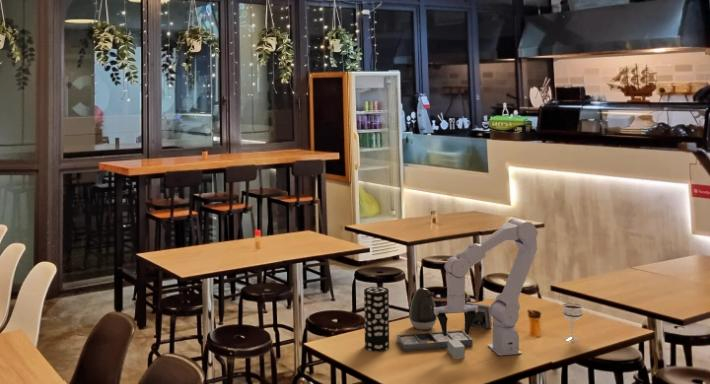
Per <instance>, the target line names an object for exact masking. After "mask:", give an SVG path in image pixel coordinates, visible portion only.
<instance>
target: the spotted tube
mask: <svg viewBox="0 0 710 384" xmlns="http://www.w3.org/2000/svg"><path fill="white" fill-rule="evenodd" d="M389 291H390V290H389V288H387V287H383V286H371V287H370V286H369V287H366V288H365V289H363V294H364V295H363V302H364V303H363V304H364V305H363V306H364V307H363V309H364V310H363V311H364V313H363V314H364V316H363V317H364V349H365V348H366V350H367V351H370V352H378V351H379V352H384V351H387V350H389V349H390V304H389V303H390V297H389V296H390V295H389V294H390V292H389Z"/></svg>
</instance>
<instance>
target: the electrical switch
mask: <svg viewBox="0 0 710 384" xmlns="http://www.w3.org/2000/svg"><path fill="white" fill-rule="evenodd" d="M465 305H477V306H478V312H475V314H476V318H475V319H474V321H473V323H472V325H471V328H475V329H479V330H485V331H487V330H488V329H489V328H490V329H491V328H492V327H493V320H492V316H491V314H490V311H489V310H490V306H491V305H488V304H483V303H475V302H471V301H467V302H465Z"/></svg>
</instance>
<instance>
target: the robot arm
mask: <svg viewBox="0 0 710 384" xmlns="http://www.w3.org/2000/svg"><path fill="white" fill-rule="evenodd" d="M538 234H539V231H538V229H537V227H536V225H534V223H532V222H531V221H526V220H522V219H519V218H517V217H513V218H510V219H509V220H508V221H506V222H504V223H502V225H501V226H500V228H498V229H497V230H495V231H494V232H493V233H492V234H490V235H489V236H488V237H487V238H485V239H484V240H482V241H481V242H480V243H477V242H476V243H473V244H472V243H469V244H468V245H467V247H466V248H465V249H464V250H462V251H461V252H457V253H456V256H451V257H449V258H448V259H447V260H446V262H445V264H444V265H443V268H444V270H445V271H446V273H447V278H446V279H447V280H446V281H447V283H446V285H447V286H446V287H447V289H446V290H447V291H446V294H447V295H446V303H447V304H446V305H442V306H435V308H434V314H435V315H437V319H438V321H439V325H440V327H441V332H442V333H443V335H444V336H447V331H448V329H447V326H448V324H447V323H448V319H449V317H448V316H447V315H449V314H461V313H463V316H464V332H465V333H466V334H467V335H468V336H470V332H471V328H472V327H471V325H472V323H473V321H474V319H475V318H476V314H475V312H478V306H477V305H466V276H467V274H468V272H469V270H470V269H471V268H473V266H475V265H477V264H478V263H479V262H480V261H482V260H483V259H485V258H486V253H487V252H489V251H490V250H492V249H493V248H495V247H497V246H498V245H501V244H502V243H503V242H505V241H514V243H515V245H516V246H517V248H518V251H517V254H516V256H515V257H514V258H515V259H514V261H513V263H512V266H511V269H510V271H509V274H508V277H507V280H506V282H505V285H504V288H502V292H500V294H498V295H497V296H496V297H495V300H494V301H493V302H492V303H491V304H490V305H489V306H490V310H489V311H490V314H491V318H492V343H490V344H489V343H488V344H487V346H488V347H489V348H490V349H491V350H492V351H493V352H494V353H496V354H497V356H510V355H521V354H522V351H521V350H520V348H519V347H520V335H519V333H518V331H517V330H516V323H518V321H519V318H520V314H519V311H520V308H521V306H520V302H519V298H520V295H521V292H522V290H523V287H524V285H525V282H526V279H527V277H528V274H529V271H530V269H531V266H532V263H533V261H534V259H535V256H536V253H537V250H538V246H537V245H538V243H537V236H538Z"/></svg>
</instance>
